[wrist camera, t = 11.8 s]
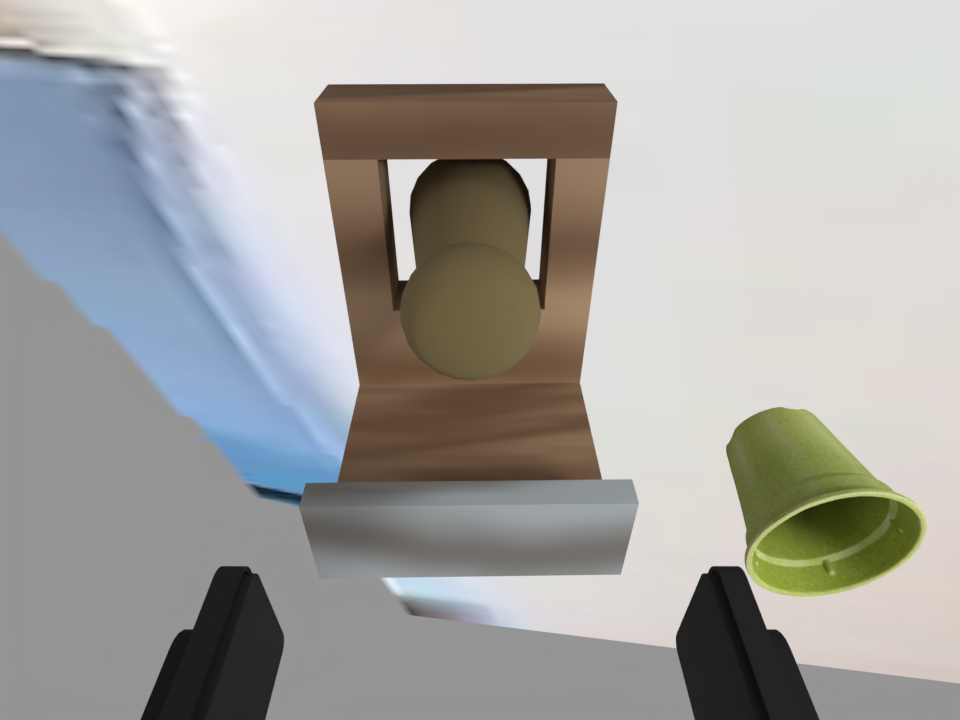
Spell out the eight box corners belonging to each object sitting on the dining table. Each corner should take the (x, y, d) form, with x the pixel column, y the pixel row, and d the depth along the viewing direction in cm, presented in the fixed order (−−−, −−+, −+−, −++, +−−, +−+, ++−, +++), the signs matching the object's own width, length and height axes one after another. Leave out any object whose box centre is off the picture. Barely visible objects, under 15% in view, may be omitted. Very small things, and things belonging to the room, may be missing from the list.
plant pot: (673, 433, 39) (717, 546, 32) (813, 359, 35) (895, 468, 29) (736, 502, 43) (787, 614, 37) (866, 442, 40) (949, 554, 33)
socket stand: (316, 84, 26) (211, 209, 15) (615, 83, 26) (714, 205, 15) (363, 382, 36) (319, 578, 25) (576, 380, 36) (620, 574, 26)
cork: (415, 267, 31) (394, 408, 22) (402, 152, 28) (371, 266, 19) (530, 263, 31) (553, 402, 22) (532, 147, 27) (562, 260, 19)
